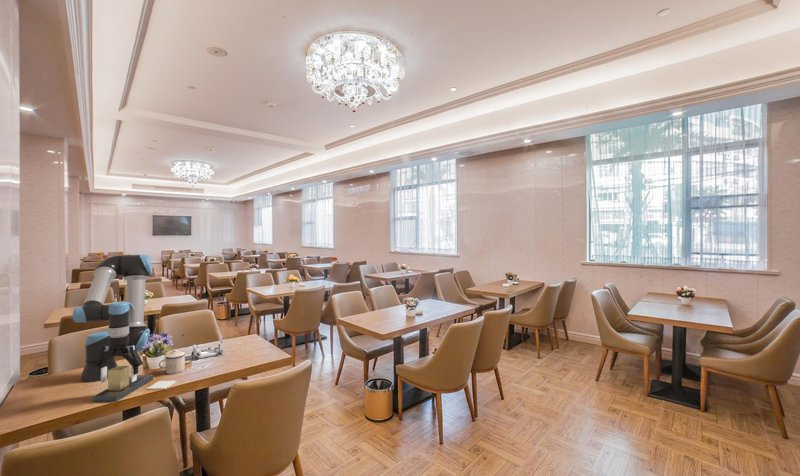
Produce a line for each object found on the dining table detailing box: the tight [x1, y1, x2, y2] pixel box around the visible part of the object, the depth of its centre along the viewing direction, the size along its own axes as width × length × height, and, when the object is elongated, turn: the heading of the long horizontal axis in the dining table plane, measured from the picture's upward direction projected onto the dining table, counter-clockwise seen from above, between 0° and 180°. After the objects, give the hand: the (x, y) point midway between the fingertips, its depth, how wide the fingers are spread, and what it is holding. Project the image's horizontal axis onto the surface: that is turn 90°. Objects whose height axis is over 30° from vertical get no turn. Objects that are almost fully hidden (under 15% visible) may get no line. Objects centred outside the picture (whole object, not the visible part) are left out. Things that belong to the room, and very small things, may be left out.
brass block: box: [107, 365, 130, 392], centre depth 164 cm, size 6×6×12 cm
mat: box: [146, 380, 177, 390], centre depth 173 cm, size 9×9×1 cm
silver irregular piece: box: [191, 337, 225, 361], centre depth 218 cm, size 18×10×12 cm
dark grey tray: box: [92, 374, 154, 403], centre depth 168 cm, size 10×24×3 cm, turn 2°
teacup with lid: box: [158, 348, 186, 375], centre depth 191 cm, size 12×9×12 cm
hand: (118, 381), depth 164 cm, fingers open, 13 cm apart
